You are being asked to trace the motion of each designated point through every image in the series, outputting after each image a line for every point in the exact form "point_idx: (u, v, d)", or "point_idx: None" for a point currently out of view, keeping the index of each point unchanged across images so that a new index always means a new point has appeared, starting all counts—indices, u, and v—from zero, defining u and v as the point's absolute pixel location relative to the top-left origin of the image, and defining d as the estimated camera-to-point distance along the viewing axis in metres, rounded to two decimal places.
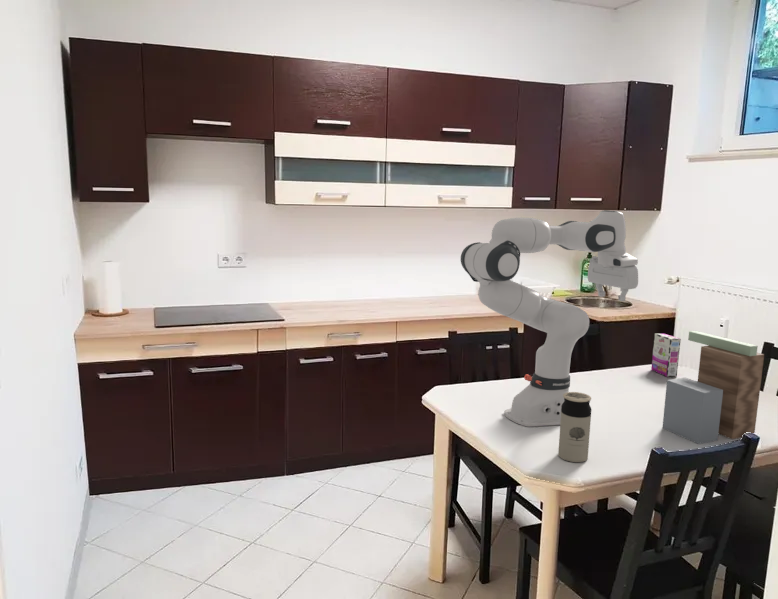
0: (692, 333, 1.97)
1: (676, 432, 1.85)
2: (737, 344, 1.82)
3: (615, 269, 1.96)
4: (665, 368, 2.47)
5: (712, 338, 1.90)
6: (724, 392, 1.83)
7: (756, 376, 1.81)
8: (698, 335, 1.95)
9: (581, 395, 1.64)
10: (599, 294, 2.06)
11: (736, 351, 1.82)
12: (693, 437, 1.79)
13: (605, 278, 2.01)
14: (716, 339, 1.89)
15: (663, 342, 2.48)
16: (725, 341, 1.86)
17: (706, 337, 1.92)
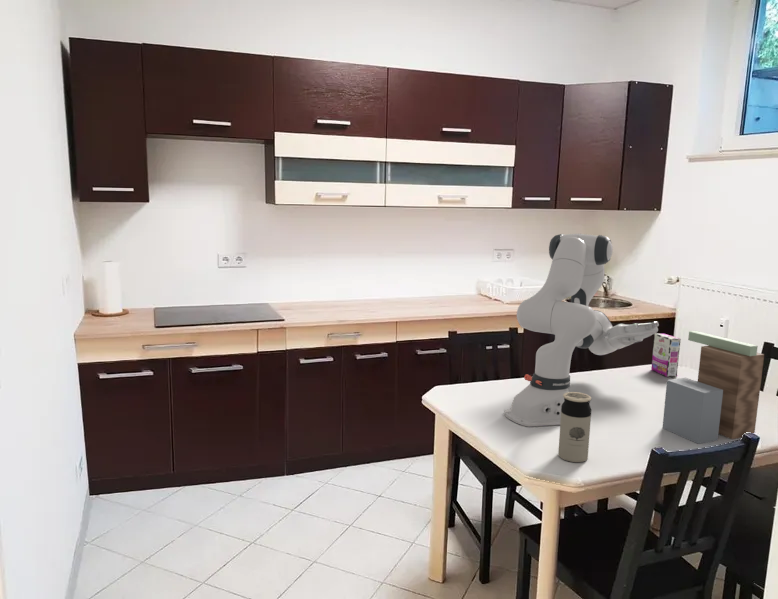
0: (692, 333, 1.97)
1: (676, 432, 1.85)
2: (737, 344, 1.82)
3: None
4: (665, 368, 2.47)
5: (712, 338, 1.90)
6: (724, 392, 1.83)
7: (756, 376, 1.81)
8: (698, 335, 1.95)
9: (581, 395, 1.64)
10: None
11: (736, 351, 1.82)
12: (693, 437, 1.79)
13: None
14: (716, 339, 1.89)
15: (663, 342, 2.48)
16: (725, 341, 1.86)
17: (706, 337, 1.92)
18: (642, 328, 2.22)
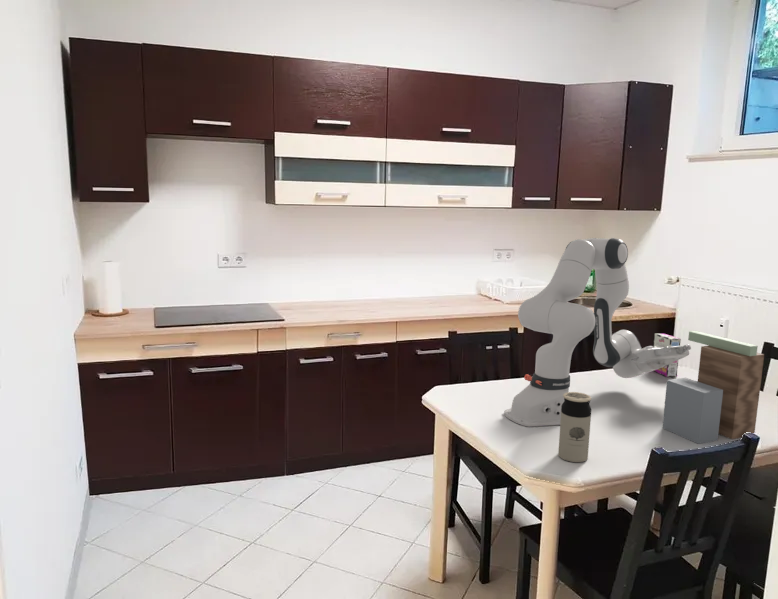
0: (692, 333, 1.97)
1: (676, 432, 1.85)
2: (737, 344, 1.82)
3: None
4: (665, 368, 2.47)
5: (712, 338, 1.90)
6: (724, 392, 1.83)
7: (756, 376, 1.81)
8: (698, 335, 1.95)
9: (581, 395, 1.64)
10: (666, 347, 2.03)
11: (736, 351, 1.82)
12: (693, 437, 1.79)
13: None
14: (716, 339, 1.89)
15: (663, 342, 2.48)
16: (725, 341, 1.86)
17: (706, 337, 1.92)
18: (673, 351, 2.10)
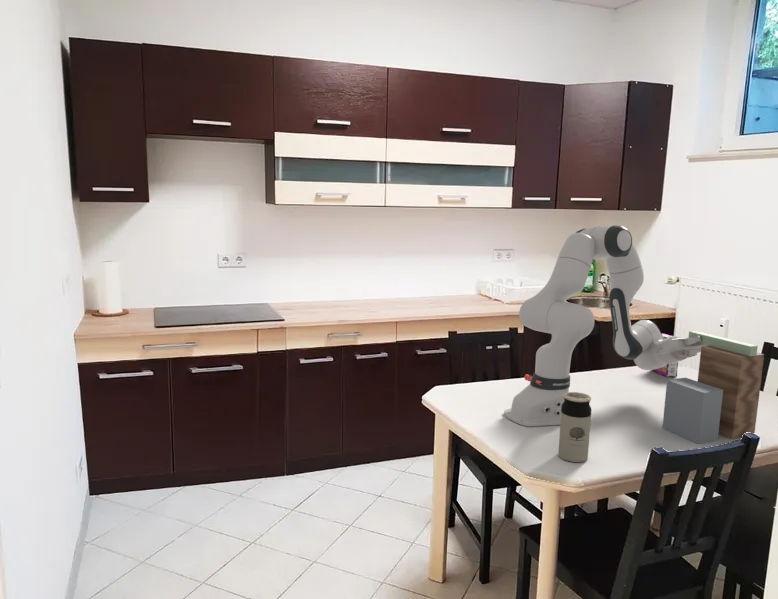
0: (692, 333, 1.97)
1: (676, 432, 1.85)
2: (737, 344, 1.82)
3: None
4: (665, 368, 2.47)
5: (712, 338, 1.90)
6: (724, 392, 1.83)
7: (756, 376, 1.81)
8: (698, 335, 1.95)
9: (581, 395, 1.64)
10: (697, 336, 1.94)
11: (736, 351, 1.82)
12: (693, 437, 1.79)
13: None
14: (716, 339, 1.89)
15: None
16: (725, 341, 1.86)
17: (706, 337, 1.92)
18: None
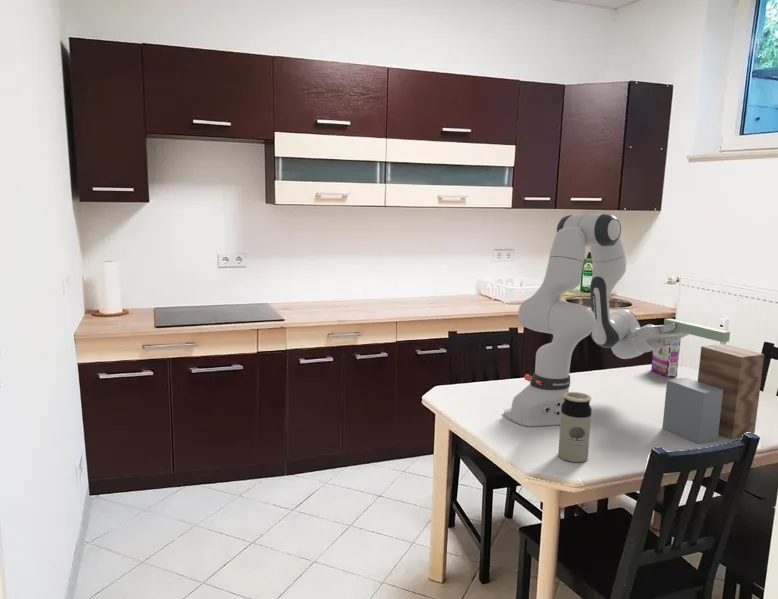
0: (667, 321, 1.98)
1: (676, 432, 1.85)
2: (710, 330, 1.83)
3: None
4: (665, 368, 2.47)
5: (686, 325, 1.91)
6: (724, 392, 1.83)
7: (756, 376, 1.81)
8: (673, 322, 1.96)
9: (581, 395, 1.64)
10: None
11: (709, 337, 1.83)
12: (693, 437, 1.79)
13: None
14: (690, 326, 1.90)
15: None
16: (699, 328, 1.87)
17: (681, 324, 1.93)
18: None
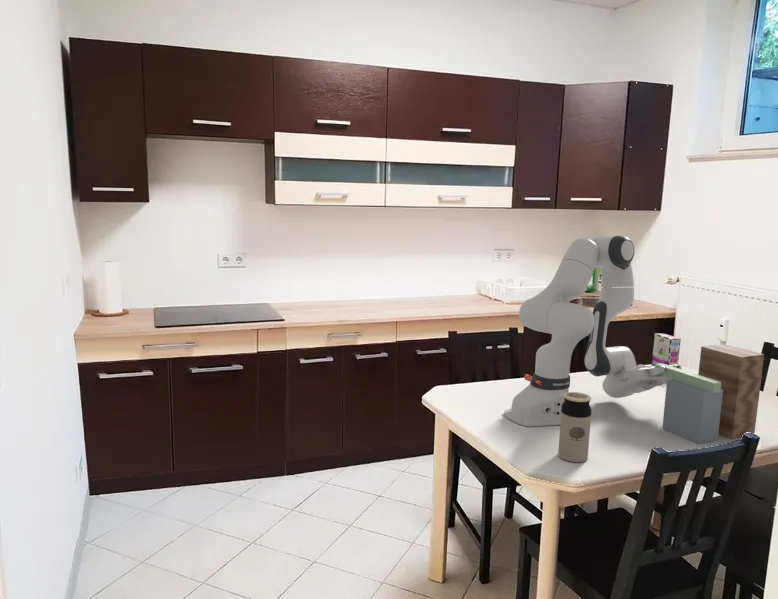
0: (658, 366, 1.93)
1: (676, 432, 1.85)
2: (701, 380, 1.78)
3: None
4: None
5: (677, 372, 1.86)
6: (724, 392, 1.83)
7: (756, 376, 1.81)
8: None
9: (581, 395, 1.64)
10: None
11: (700, 387, 1.79)
12: (693, 437, 1.79)
13: None
14: (681, 373, 1.85)
15: (663, 342, 2.48)
16: (689, 376, 1.82)
17: (671, 371, 1.88)
18: None
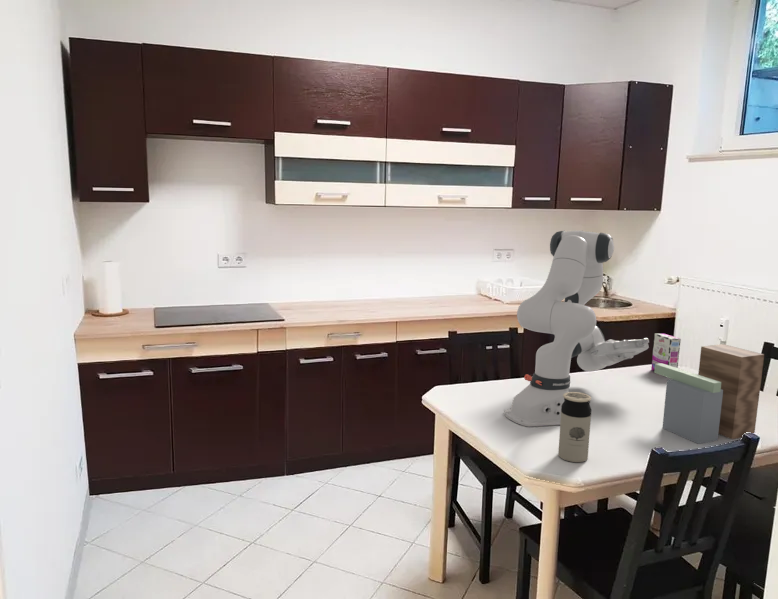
0: (658, 366, 1.93)
1: (676, 432, 1.85)
2: (701, 380, 1.78)
3: None
4: None
5: (677, 372, 1.86)
6: (724, 392, 1.83)
7: (756, 376, 1.81)
8: (664, 368, 1.91)
9: (581, 395, 1.64)
10: (624, 340, 2.07)
11: (700, 387, 1.79)
12: (693, 437, 1.79)
13: None
14: (681, 373, 1.85)
15: (663, 342, 2.48)
16: (689, 376, 1.82)
17: (671, 371, 1.88)
18: (632, 345, 2.14)
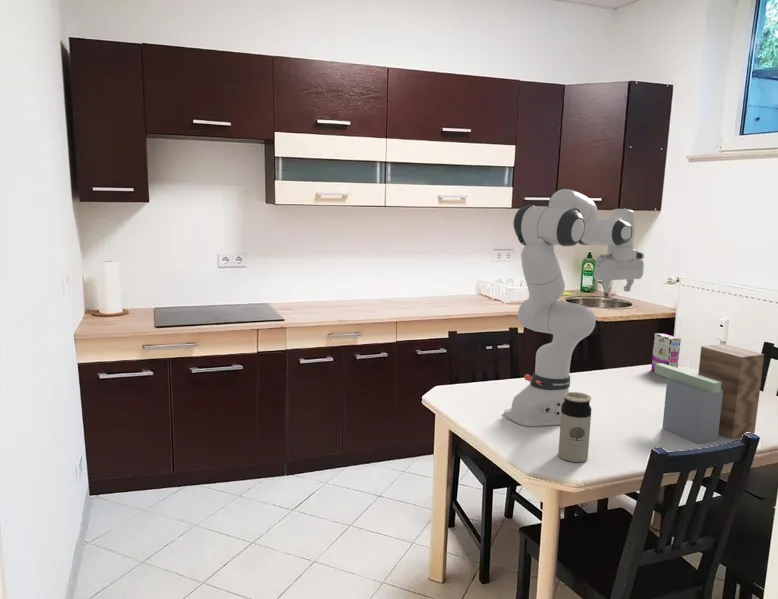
0: (658, 366, 1.93)
1: (676, 432, 1.85)
2: (701, 380, 1.78)
3: (631, 263, 2.14)
4: None
5: (677, 372, 1.86)
6: (724, 392, 1.83)
7: (756, 376, 1.81)
8: (664, 368, 1.91)
9: (581, 395, 1.64)
10: (608, 290, 2.13)
11: (700, 387, 1.79)
12: (693, 437, 1.79)
13: (620, 273, 2.13)
14: (681, 373, 1.85)
15: (663, 342, 2.48)
16: (689, 376, 1.82)
17: (671, 371, 1.88)
18: None
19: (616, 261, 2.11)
